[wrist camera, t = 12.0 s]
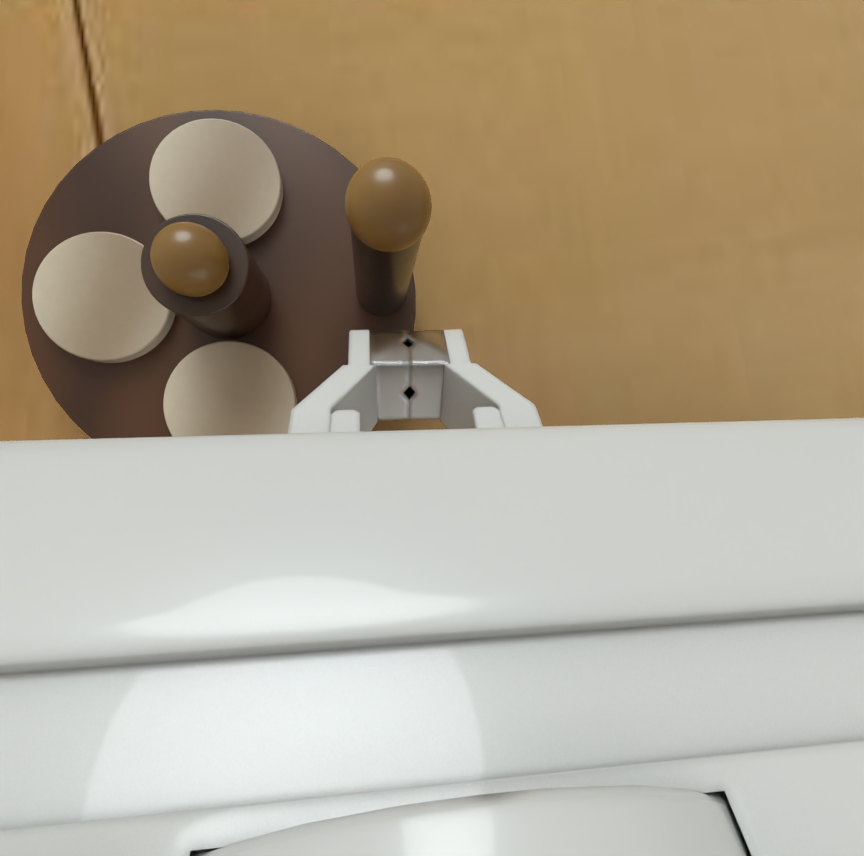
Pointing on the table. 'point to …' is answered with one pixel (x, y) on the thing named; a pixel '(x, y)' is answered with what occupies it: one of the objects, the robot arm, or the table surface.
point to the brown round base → (214, 273)
